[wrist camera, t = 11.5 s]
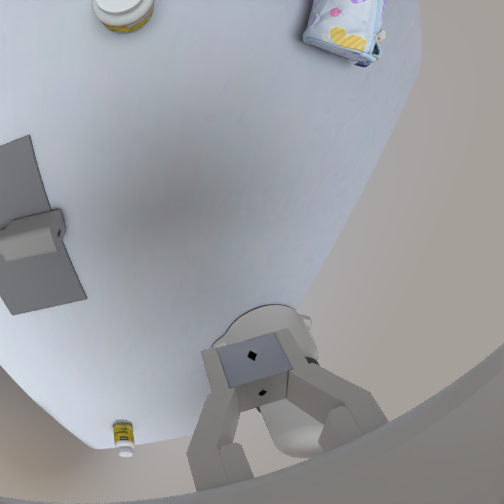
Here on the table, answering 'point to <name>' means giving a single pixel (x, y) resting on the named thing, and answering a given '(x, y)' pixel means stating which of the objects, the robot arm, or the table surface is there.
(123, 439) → the supplement bottle
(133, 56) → the table surface
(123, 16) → the supplement bottle
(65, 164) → the table surface
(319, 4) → the pencil case
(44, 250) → the power adapter
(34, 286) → the desk mat
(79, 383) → the table surface
